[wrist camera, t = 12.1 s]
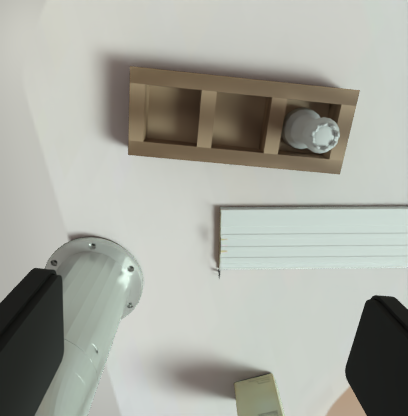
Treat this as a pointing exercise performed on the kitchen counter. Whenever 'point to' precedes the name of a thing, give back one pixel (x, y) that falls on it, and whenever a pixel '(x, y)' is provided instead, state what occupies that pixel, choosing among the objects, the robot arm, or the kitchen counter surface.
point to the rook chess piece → (309, 131)
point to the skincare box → (258, 397)
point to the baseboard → (313, 237)
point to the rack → (230, 119)
